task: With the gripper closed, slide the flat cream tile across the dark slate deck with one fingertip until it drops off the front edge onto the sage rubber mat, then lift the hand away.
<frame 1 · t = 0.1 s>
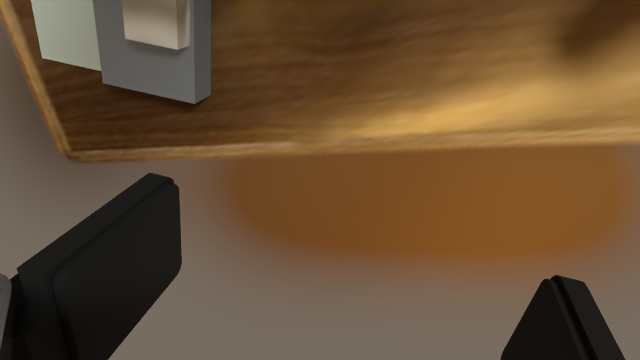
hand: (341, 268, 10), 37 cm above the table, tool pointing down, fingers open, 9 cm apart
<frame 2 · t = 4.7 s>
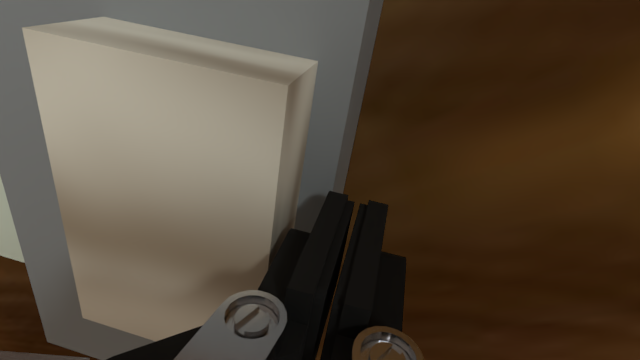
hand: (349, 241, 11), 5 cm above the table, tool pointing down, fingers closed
cream tile: (205, 186, 12), point 4 cm above the table, touching gripper, slate deck
slate deck: (206, 127, 16), on the table
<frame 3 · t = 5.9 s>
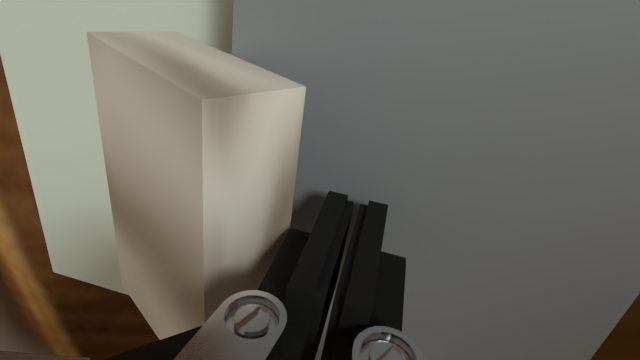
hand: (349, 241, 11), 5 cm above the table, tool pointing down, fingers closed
sage mat: (134, 110, 17), on the table
cream tile: (226, 199, 13), point 4 cm above the table, tilted 33°, touching slate deck
slate deck: (419, 178, 15), on the table
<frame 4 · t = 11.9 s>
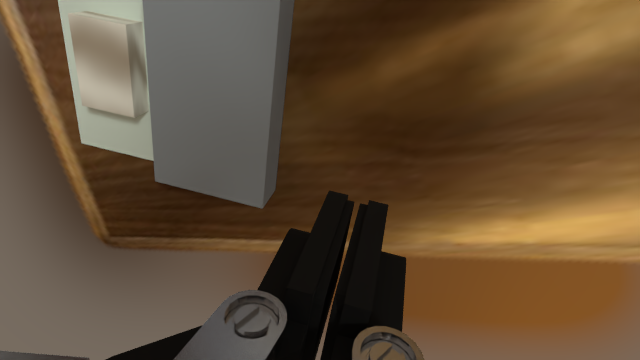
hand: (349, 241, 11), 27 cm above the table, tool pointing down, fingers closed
sage mat: (118, 58, 41), on the table
cream tile: (102, 67, 39), point 3 cm above the table, tilted 180°, touching sage mat
slate deck: (227, 81, 39), on the table
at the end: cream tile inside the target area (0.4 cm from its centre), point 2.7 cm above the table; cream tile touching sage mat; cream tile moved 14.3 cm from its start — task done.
